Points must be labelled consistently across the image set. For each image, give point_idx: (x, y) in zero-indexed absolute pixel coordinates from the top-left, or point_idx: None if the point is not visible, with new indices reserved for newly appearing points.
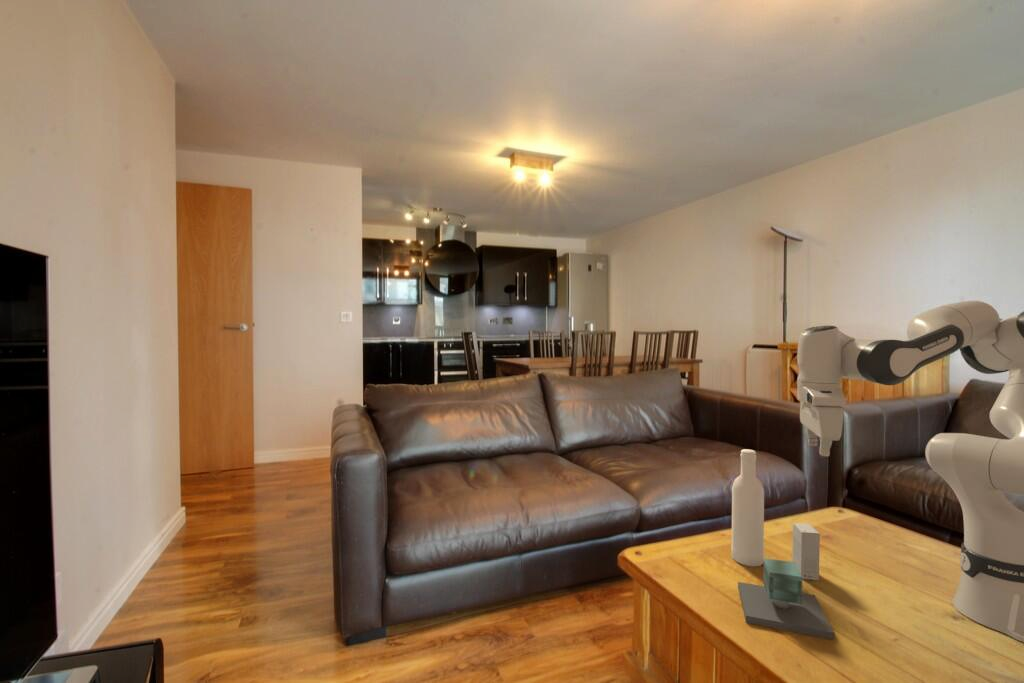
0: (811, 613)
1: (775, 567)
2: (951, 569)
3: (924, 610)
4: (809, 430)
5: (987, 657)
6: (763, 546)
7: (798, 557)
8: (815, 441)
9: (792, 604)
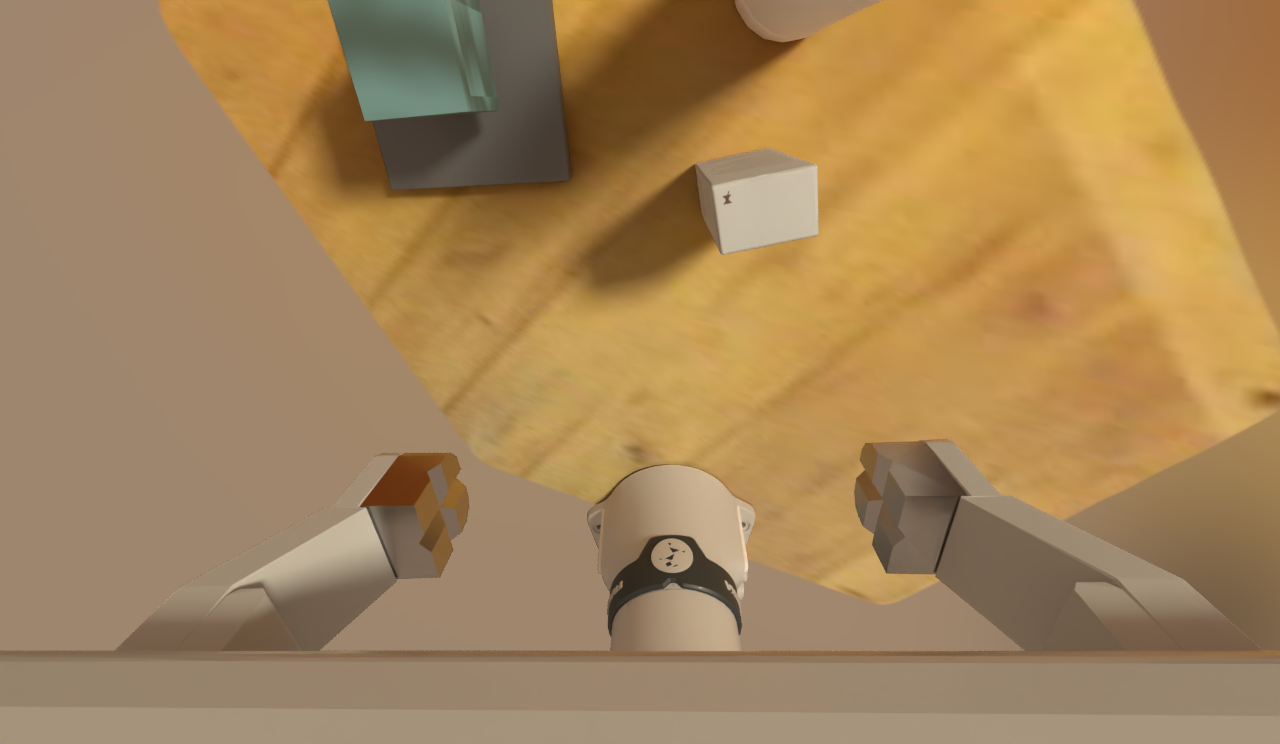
0: (455, 149)
1: (381, 21)
2: None
3: (641, 410)
4: (1065, 614)
5: (509, 445)
6: (792, 33)
7: (725, 164)
8: (876, 529)
9: None
